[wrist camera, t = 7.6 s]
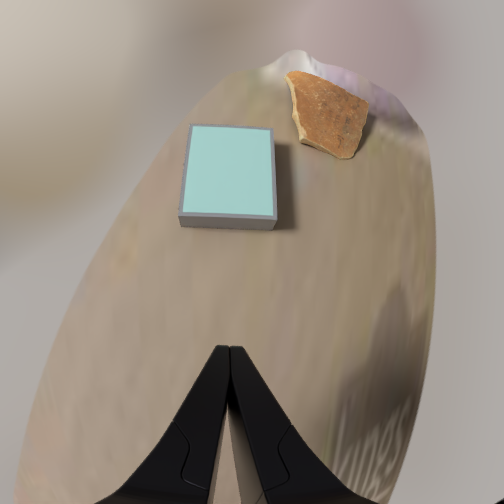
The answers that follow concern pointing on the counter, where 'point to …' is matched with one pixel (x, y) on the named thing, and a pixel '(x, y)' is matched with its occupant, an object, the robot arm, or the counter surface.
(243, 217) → the tile
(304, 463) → the robot arm
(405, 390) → the counter surface
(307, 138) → the pottery shard
